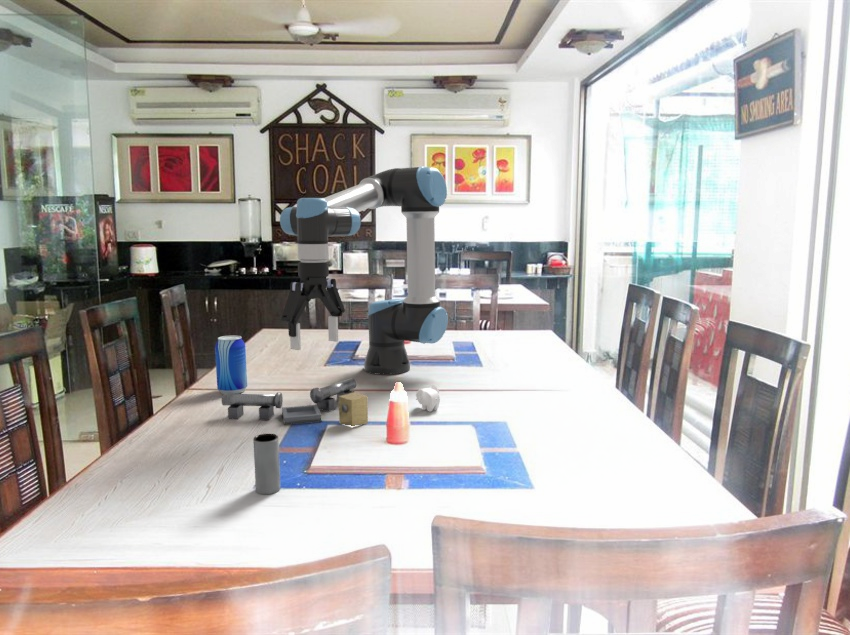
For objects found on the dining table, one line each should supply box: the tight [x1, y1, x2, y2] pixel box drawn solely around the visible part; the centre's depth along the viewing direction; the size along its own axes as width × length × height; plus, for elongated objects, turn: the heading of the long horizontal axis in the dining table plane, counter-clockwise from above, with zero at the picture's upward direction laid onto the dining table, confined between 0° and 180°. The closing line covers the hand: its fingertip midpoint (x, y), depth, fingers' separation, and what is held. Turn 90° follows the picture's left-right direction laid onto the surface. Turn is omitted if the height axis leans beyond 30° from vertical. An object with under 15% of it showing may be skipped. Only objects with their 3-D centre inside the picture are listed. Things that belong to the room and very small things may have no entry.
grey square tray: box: [281, 404, 322, 426], centre depth 166 cm, size 9×9×2 cm
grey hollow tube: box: [252, 433, 281, 495], centre depth 123 cm, size 4×4×10 cm
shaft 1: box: [220, 392, 284, 421], centre depth 166 cm, size 15×4×6 cm, turn 86°
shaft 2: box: [309, 377, 358, 412], centre depth 176 cm, size 15×4×6 cm, turn 146°
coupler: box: [338, 392, 369, 426], centre depth 161 cm, size 6×5×7 cm
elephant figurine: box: [415, 384, 441, 412], centre depth 172 cm, size 7×8×6 cm
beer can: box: [214, 334, 248, 395], centre depth 190 cm, size 8×8×16 cm
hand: (315, 345), depth 166 cm, fingers open, 13 cm apart
